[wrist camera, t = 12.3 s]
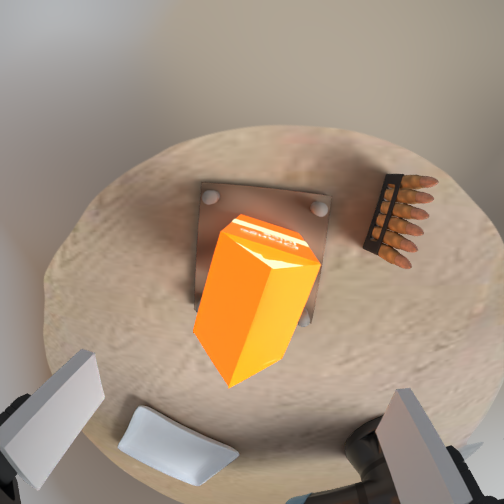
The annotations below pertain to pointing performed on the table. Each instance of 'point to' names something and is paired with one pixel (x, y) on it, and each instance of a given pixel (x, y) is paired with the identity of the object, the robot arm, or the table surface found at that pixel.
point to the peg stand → (265, 209)
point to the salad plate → (174, 447)
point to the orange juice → (253, 296)
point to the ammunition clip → (401, 192)
